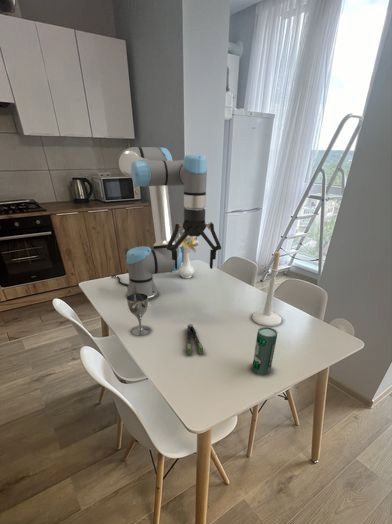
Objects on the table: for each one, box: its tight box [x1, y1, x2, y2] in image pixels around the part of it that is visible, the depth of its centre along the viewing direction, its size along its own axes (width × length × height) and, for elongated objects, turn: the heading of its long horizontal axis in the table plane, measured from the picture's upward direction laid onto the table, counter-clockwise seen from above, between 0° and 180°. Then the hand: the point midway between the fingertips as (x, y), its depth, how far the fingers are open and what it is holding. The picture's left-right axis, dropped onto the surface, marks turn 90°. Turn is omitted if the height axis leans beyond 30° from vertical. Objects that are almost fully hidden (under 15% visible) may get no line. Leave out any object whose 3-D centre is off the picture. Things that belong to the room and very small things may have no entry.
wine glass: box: [126, 293, 151, 336], centre depth 119 cm, size 8×8×15 cm
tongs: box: [187, 323, 204, 356], centre depth 116 cm, size 19×6×3 cm, turn 7°
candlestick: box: [251, 251, 282, 327], centre depth 125 cm, size 13×13×30 cm
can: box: [251, 326, 279, 376], centre depth 98 cm, size 6×6×15 cm
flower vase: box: [175, 229, 200, 279], centre depth 169 cm, size 13×18×25 cm
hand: (193, 267), depth 115 cm, fingers open, 13 cm apart
